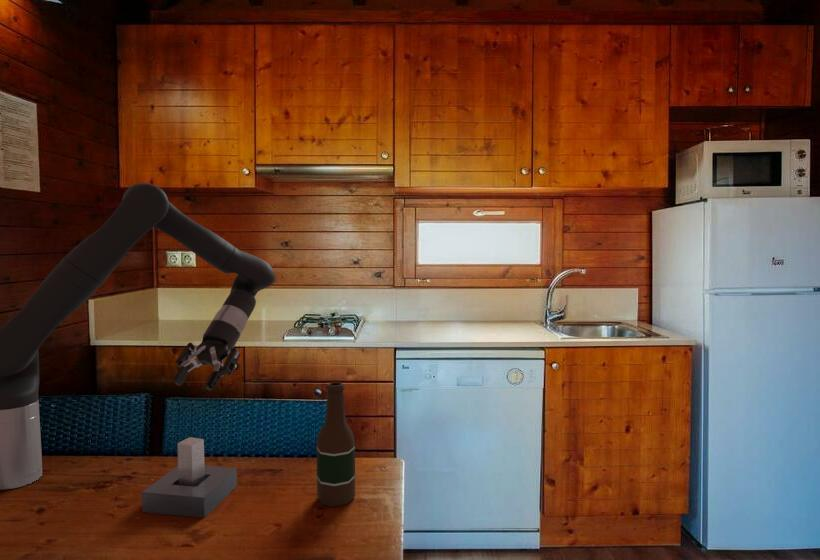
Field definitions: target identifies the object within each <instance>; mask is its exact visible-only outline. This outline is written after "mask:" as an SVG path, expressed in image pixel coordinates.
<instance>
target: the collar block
mask: <svg viewBox="0 0 820 560" xmlns="http://www.w3.org/2000/svg"><path fill="white" fill-rule="evenodd" d="M204 466H205V480H204V481H203V482H202V483H201V484H199V485H198V486H197V487H192V486H181V485H179V475H178V465H176V467H174V468H173V469H171V470H169V472H167V473H166V474H165V475H163V476H162V477H160V478H159V479H158V480H156V481H155V482H153V483H152V484H151V485H149V486H148V487H147V488H145V489H144V490H143V491H141V506H142V512H143V513H149V514H150V513H151V514H152V513H153V514H159V515H160V514H161V515H170V516H171V515H173V516H182V517H183V516H184V517H193V518H206V517H207V516H208V515H209V514H210V513H211V512H212V511H214V509H216V507H217V506H219V504H220V503H222V501H223V500H225V498H227V497H228V495H230V494H231V491H232V490H233V489H234V488H235V487H236V486H237V487H238V475H237V473H238V472H237V468H236V467H225V466H213V465H212V466H211V465H204ZM237 487H236V488H237ZM236 488H235V489H236ZM233 491H234V490H233Z"/></svg>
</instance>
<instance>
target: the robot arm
mask: <svg viewBox="0 0 820 560" xmlns="http://www.w3.org/2000/svg"><path fill="white" fill-rule="evenodd" d="M153 228H155V229H157V230H159V231H161V232H162V233H165V234H166V235H168V236H170V237H171V238H173V239H174V240H176V241H177V242H178V243H180V244H181V245H183V246H185V248H186V249H188V250H190V251H191V252H192V253H194V255H196V256H198V257H199V258H200V259H201V260H203V261H205V262H206V263H208V264H209V265H210V266H212V267H214V268H215V269H217V270H218V271H220V272H222V273H223V274H226V275H227V274H237V275H236V277H235V278H234V280H233V283H232V286H231V289H230V293H229V295H228V296H227V298H226V299H225V301H224V302H223V304H222V306H220V308H219V310H218V311H217V312H216V314H215V315H214V317H213V318H212V319H211V320H212V321H211V322H210V323H209V325H208V326H207V328H206V330H205V332H204V333H203V335H202V340H201V342H200V344H199V345H194V344H193V342H188V343H187V345H186V346H185V347H184V349H183V350H182V352H181V353H180V354H179V356H178V357H177V359H176V360H175V364H176V365H178V367H179V370H178V371H177V372H176V374H175V376H174V378H173V381H174V384H175V385H177V386H179V387H181V386H183V384H184V382H185V381H186V379H187V377H188V375H189V374H190V372H191V371H192V370H193V369H195V368H200V366H210V367H213V370H214V371H211V372H210V373H211V374H210V375H209V377H208V378H207V381H206V382H205V384H204V387H205V389H207V391H213V390H214V389H215V388H216V387H217V386H218V383H219V381H220V380H221V378H222V377H224V376H225V375H226V376H231V375H232V374H233V372H234V369H235V367H236V365H237V363H238V361H239V359H240V357H241V354H240V352H239V350H238V349H237V348H236V347H235V346H236V344H237V342H238V340H239V339H240V337H241V335H242V333H243V332H244V330H245V328H246V325H247V323H248V321H249V318H250V317H251V315H252V314H253V312H254V310H255V308H256V304H257V301H256V300H257V299H256V298H255V297H256V295H257V294H258V292H260V291H263V290H265V289H266V288H269V287H270V286H271V285H272V284H273V283H274V281H275V278H276V275H275V271H274V269H273V267H272V266H271V264H269V263H268V262H267V261H265V260H264V259H261V258H259V257H258V256H255V255H253V254H251V253H248V252H245V251H242V250H240V249H239V248H237V247H236V246H234V245H233V244H232V243H230V242H228V241H227V240H226V239H224V238H223V237H221V236H219V235H218V234H216V233H215V232H213V231H211V230H210V229H209V228H206V226H203V225H201V224H199V223H198V222H197V221H195V220H193V219H191V218H190V217H188V216H187V215H186V214H184V213H183V212H182V211H180V210H179V209H178V208H177V207H176V206H174V205H173V204H172V203H171V202H170V201H169V199H168V195H167V194H166V193H165V191H164V189H161V187H159V186H157V185H155V184H151V183H145V182H140V183H136V184H133V185H130V187H128V188H126V190H125V191H124V193H123V195H122V198H121V202H120V204H119V205H118V207H117V208H116V209H115V210H114V211H113V213H112V214H111V215H110V217H109V218H107V220H106V221H105V222H104V223H103V224H102V225H101V226H100V227H99V228H98V229H97V230H95V231H94V232H92V233H91V234H90V235H89V236H87V237H86V238H84V239H83V240H82V241H81V242H80V243H78V244H77V245H76V246H75V247H74V248H73V249H71V251H69V252H68V253H67V254H66V255H65V256H64V257H63V258H62V259H61V260H60V262H59V263H58V264H57V265H56V266H55V267H54V268H53V269H51V271H50V272H49V274H48V275H47V276H46V277H45V278H44V279H43V281H42V282H41V283H40V284H39V286H38V287H37V288H36V290H35V291H34V292H33V294H32V295H31V296H30V298H28V300H27V302H26V303H25V304H24V305H23V306H22V308H21V309H20V310H19V311H17V313H16V314H15V315H14V316H13V317H11V318H10V319H9V320H8V321H7V322H6V323H5V324H4V325H3V326H1V327H0V490H11V489H17V488H21V487H25V486H27V484H28V485H30V484H33V483H35V482H37V481H38V480H39V478H40V477H41V476H43V474H42V473H43V459H42V458H43V456H42V441H41V440H42V439H41V438H42V437H41V436H42V435H41V424H40V423H41V421H40V420H41V419H40V404H39V402H40V401H39V389H40V388H39V386H40V355H39V353H40V352H39V349H40V348H41V346H42V345H43V344H44V342H45V341H46V340H47V338H48V337H49V336H50V335H51V334H52V332H54V330H55V329H56V328H57V327H58V326H60V324H61V323H63V322H64V321H65V320H67V318H69V317H70V316H71V315H72V314H74V312H76V311H77V310H78V309H80V307H81V306H83V304H85V303H86V302H87V300H89V299H90V298H91V297H92V296H93V295H94V294H95V293H96V291H98V289H99V288H100V287H102V285H103V284H104V283H105V281H106V280H108V278H109V277H110V276H111V274H113V272H114V271H115V269H117V267H118V266H119V264H120V263H121V261H122V260H123V259H124V258H125V256H126V255H127V254H128V252H129V251H130V250H131V248H133V246H135V244H136V243H138V241H139V240H141V239H142V238H143V236H145V235H146V234H147V233H148V232H149V231H150V230H152V229H153ZM196 359H197V360H196ZM224 360H225V361H224ZM41 478H42V477H41ZM41 478H40V479H41ZM36 480H37V481H36ZM34 481H35V482H34ZM32 482H33V483H32Z"/></svg>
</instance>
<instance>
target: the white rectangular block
mask: <svg viewBox="0 0 820 560" xmlns="http://www.w3.org/2000/svg"><path fill="white" fill-rule="evenodd" d="M177 466H178V475H179V485H181V486H192V487H197V486H198V485H199V484H201V483H202V482H203V481H204V480H205V466H206V465H205V439H203V438H197V437H191V436H190V437H187V438H186V439H184V440H181V441H179V442H177Z"/></svg>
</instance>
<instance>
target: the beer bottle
mask: <svg viewBox="0 0 820 560" xmlns="http://www.w3.org/2000/svg"><path fill="white" fill-rule="evenodd" d="M325 389H326V393H327V394H326V412H325V413H326V415H325V420H324V424H323V425H322V426H321V428H320V430H318V431H319V432H318V435H317V437H316V494H317V499H318V501H319V502H320V503H321V505H323V506H325V507H326V506H327V507H331V508H336V507H341V506H347V505H349V504H350V502H352V500H353V499H354V498H355V496H356V442H355V436H354V433H353V430H352V429H351V427H350V426H349V425H348V423H347V419H346V412H345V396H344V395H345V394H344V390H346V388H345V384H343V383H342V382H340V381H334V382H333V381H332V382H330V383H328V384H326V388H325ZM346 504H347V505H346Z"/></svg>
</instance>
